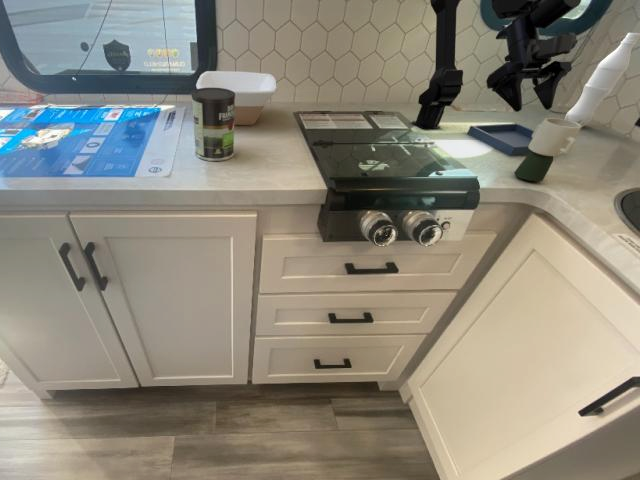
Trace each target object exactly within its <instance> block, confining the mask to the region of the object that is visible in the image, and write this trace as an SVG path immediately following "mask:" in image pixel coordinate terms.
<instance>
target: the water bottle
mask: <svg viewBox="0 0 640 480" xmlns="http://www.w3.org/2000/svg"><path fill="white" fill-rule="evenodd" d="M639 38H640V33H639V32H627V34H626V36H625V37H624V38H623V40H622V41H620V44H619V45H618V47H617V48H615V49H614V50H613V51H612V52H611V53H609V54H608V55H607V56H606V57H605V58H603V59H602V60H601V61H600V62H599V63H598V64H597V66H596V68H595V70H594V71H593V72H592V74H591V75H590V77H589V79H588V81H587V82H586V83H585V84H584V86H583V89H582V93H581V95H580V97H579V98H578V100H577V102H576V103H575V104H574V105H573V107H571V109H570V110H568V111H567V112H566V115H565V116H564V119H566V120H570V121H574V122H576V123H579V124H580V125H581V126H582V127H581V128H584V127H585V126H586V125H588V124H589V123H590V122H591V121H592V120H593V118H594V116H595V113H596V110H597V108H598V107H599V105H600V104H601V103H602V102H603V100H604V99H605V98H607V96H608V95H610V93H611V92H612V91H614V90H613V89H614V87H615V86H616V85H617V84H618V82H619V80H620V79H621V77H622V76H623V74H624V73H625V72H626V71H627V69H628V68H629V65H630V61H631V54H632V50H633V48H634V46H635V45H637V42H638V40H639Z"/></svg>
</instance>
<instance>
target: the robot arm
mask: <svg viewBox="0 0 640 480" xmlns="http://www.w3.org/2000/svg"><path fill="white" fill-rule="evenodd" d="M429 1H430V2H429V3H430V7H431V8H432V10H433V12H434V13H435V17H436V20H435V22H436V23H435V24H436V25H435V68H434V69H435V70H434V73H433V74H432V76H431V77H430V80H429V82H428V88H427V89H425V90H424V91H423V92H422V93H421V94H420V95H418V101H417V104H418V105H421V106H420V109H419V112H418V115H417V117H416V120H413V121H412V122H411V124H414V126H417V127H418V128H420V129H422V130H434V129H435V130H437V129H441V126H440V122H441V121H442V118H443V116H444V113H445V109H446V107H451V105H452V104H453V103H454V101H455V100H456V99H457V98H458V96H459V94H461V91H462V86H464V80H463V78H464V70H463V69H458V68H457V67H456V40H457V38H456V36H457V11H458V10H457V9H458V7H459V5H460V3H461V1H462V0H429ZM490 2H491V10H492V11H493V13H494V14H495V16H496V18H497V19H499V20H512V21H511V22H510V23H508V24H507V25H505V24H504V25H503V24H502V26H501V28H500V30H499V32H498V33H497V34H496V36H495V40H505V41H506V46H507V52H508V54H507V55H505V56H504V62H505V63H503V64H502V65H501V66H499V67H498V68H497V69H495V70H494V71H492V72H491V73H489V74H488V76H487V78H486V79H485V83H486V88H487V89H488V90H489V89H490V90H491V91H492V92H494V93H496V94H497V95H498V96H499V97H500V98H501V99H502V100H503V101H505V103H506V104H508V105H509V106H510V108H511V109H512V110H513V111H514V112H516V113H518V112H520V111H522V110H523V98H522V82H523V80H531V82H532V84H533V85H534V87H532V90H533V92H534V93H535V95H536V97H537V98H538V100H539V102H540V103H541V105H542V107H543V108H544V110H545V111H548V110H550V109H552V108H553V105H554V101H555V95H556V91H557V89H558V85H559V83H560V82H561V80H562V79H563V78H565V77H566V76H567V75H568V73H570V72H571V71H572V70H573V68H572V61H571V60H566V59H565V60H554V61H552V58H555V57H558V56H561V55H567V54H570V53H571V50H573V49H574V48H576V45H577V44H578V42H579V40H578V39H577V35H576V33H575V32H568V33H567V34H560V35H556V36H552V37H550V38H547V39H545V38H543V39H541V38H540V33H539V29H548V28H550V27H551V26H553V25H554V24H555V23H557V22H558V21H559V20H561V19H562V18H563V17H565V16H566V15H567V14H569V13H570V12H572V11H573V10H575V9H576V8H577V7H579V6H580V5H581V3H582V0H490ZM550 62H551V63H550ZM546 64H547V65H546ZM544 65H546V66H544ZM543 66H544V67H543Z"/></svg>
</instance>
